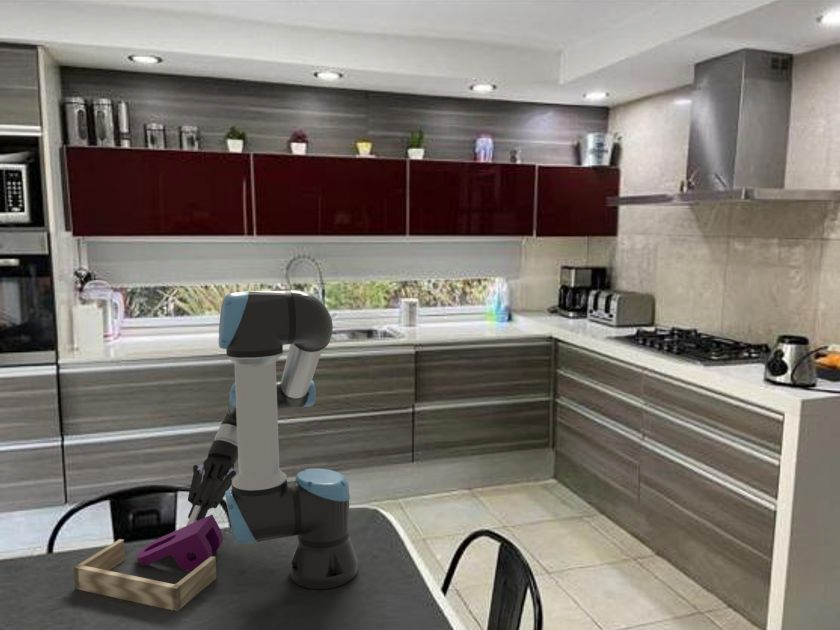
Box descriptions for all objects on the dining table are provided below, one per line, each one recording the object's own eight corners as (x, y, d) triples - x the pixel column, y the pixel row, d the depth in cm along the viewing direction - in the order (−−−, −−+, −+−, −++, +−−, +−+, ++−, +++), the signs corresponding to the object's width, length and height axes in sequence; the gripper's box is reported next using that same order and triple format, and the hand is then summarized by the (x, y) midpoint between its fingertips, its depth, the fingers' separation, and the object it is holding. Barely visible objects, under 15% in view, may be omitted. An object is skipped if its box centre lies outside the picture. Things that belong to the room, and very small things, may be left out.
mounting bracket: (146, 594, 147) (214, 564, 145) (128, 563, 146) (196, 533, 144) (164, 572, 156) (228, 544, 154) (148, 542, 155) (212, 514, 153)
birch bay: (216, 577, 143) (215, 557, 142) (177, 611, 130) (176, 588, 129) (120, 558, 150) (119, 539, 150) (75, 588, 138) (73, 567, 137)
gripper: (254, 454, 169) (219, 542, 156) (213, 448, 173) (174, 534, 160) (242, 441, 163) (204, 532, 150) (199, 436, 167) (159, 523, 154)
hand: (189, 533), depth 155 cm, fingers closed
